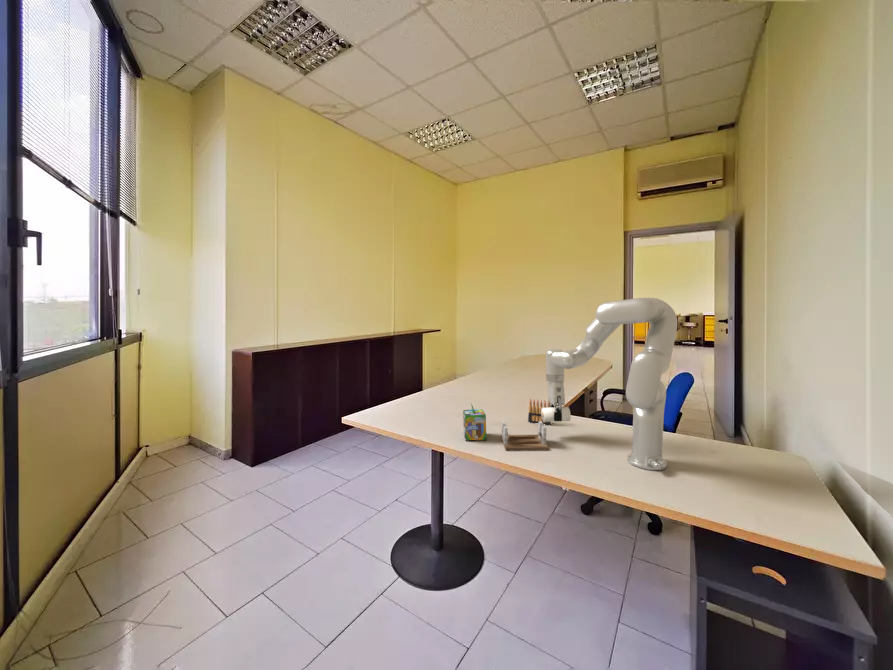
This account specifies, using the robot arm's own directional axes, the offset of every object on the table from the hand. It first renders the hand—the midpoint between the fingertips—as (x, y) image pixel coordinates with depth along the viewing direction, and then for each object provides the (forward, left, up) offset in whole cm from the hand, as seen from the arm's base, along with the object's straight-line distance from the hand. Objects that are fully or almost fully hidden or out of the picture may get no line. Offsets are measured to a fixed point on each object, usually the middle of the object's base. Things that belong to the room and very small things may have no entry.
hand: (555, 418), depth 153 cm
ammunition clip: (+18, +2, -9) cm, 21 cm away
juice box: (+1, +35, -9) cm, 37 cm away
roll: (0, 0, -1) cm, 1 cm away
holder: (-7, +15, -9) cm, 19 cm away
